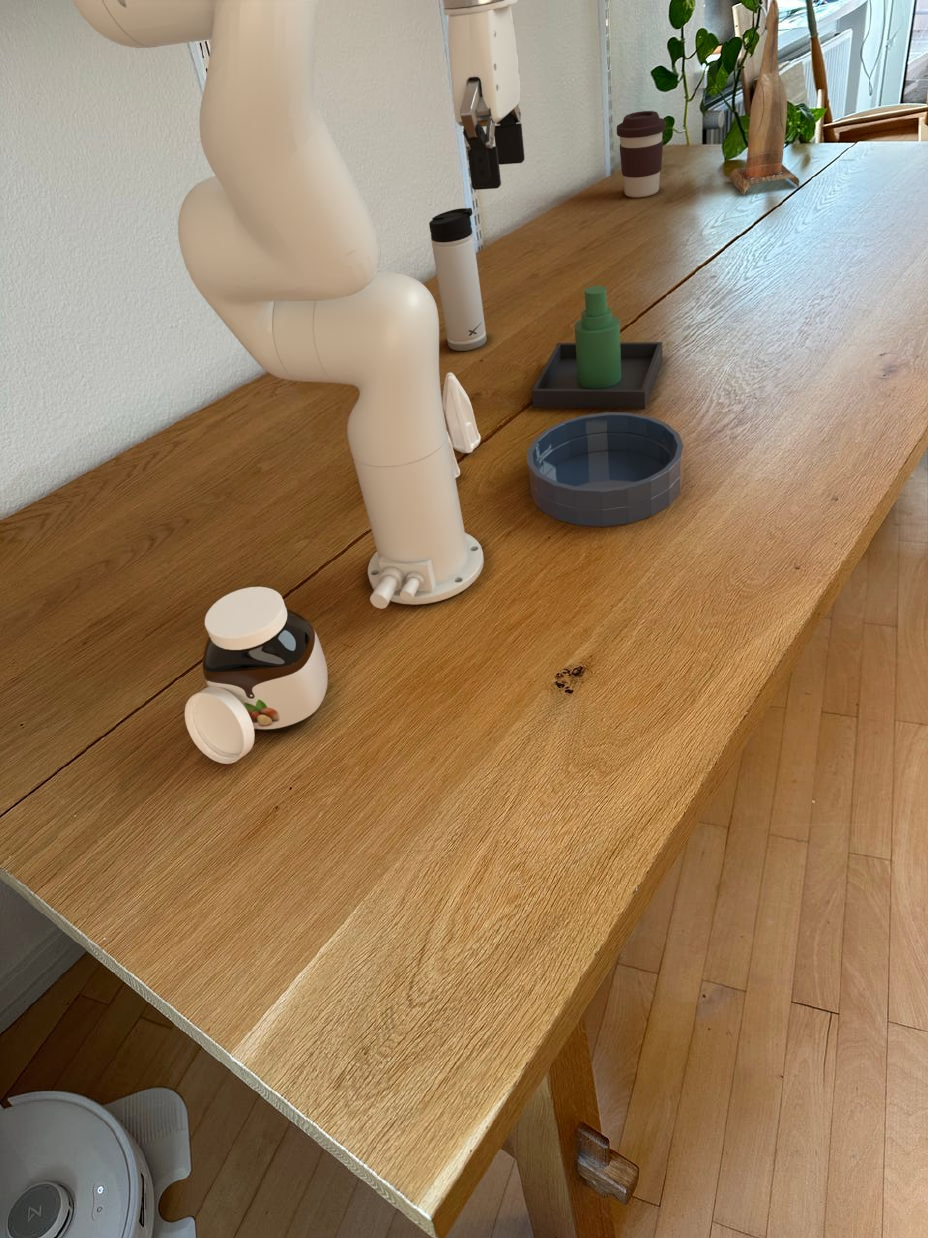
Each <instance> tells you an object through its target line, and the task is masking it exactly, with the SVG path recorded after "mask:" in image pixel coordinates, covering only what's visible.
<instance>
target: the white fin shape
mask: <svg viewBox="0 0 928 1238" xmlns="http://www.w3.org/2000/svg"><path fill="white" fill-rule="evenodd" d="M442 405H443V411H444V417H445V422H446V426H447V428H448V429H447V430H448V431H447V434H448V440H449V445H450V451H451V457H452V463H453V468H454V474H455V479H456V478H458V477H459V476H460V475H461V469H460V467H459V464H458V461H457V458H456V455H455V451H454V450H456V451H457V452H459V453H462V454H471V453H473V451H474V450H475V449H476V448H478V447H479V445H480V444H481V438H482V437H481V434H480V433H479V430H478V427H477V422H476V417H475V414H474V413H475V412H474V410H473V406H472V403H471V400H470V397H469V396H468V394H467V392H466V391H465V389H464V388H463V386H462V385H461V383H460V381H459V379H458V378H457V376H456V375H455V374H454V373H453V372H447V373H446V375H445V378H444V383H443V391H442Z"/></svg>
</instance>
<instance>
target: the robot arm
mask: <svg viewBox="0 0 928 1238" xmlns="http://www.w3.org/2000/svg"><path fill="white" fill-rule="evenodd" d="M72 2H73V4H74V6H75V7H76V9H77V10H78V12H79V13H80V15H81V17H82V18H83V19H84V20H85V21H86V23H88V24H89V26H91V28H93V29H94V31H95V32H97V33H98V34H100V35H101V36H102V37H104V38H105V39H106V40H109V41H111V42H113V43H115V44H117V45H120V46H122V47H123V46H124V47H129V48H134V49H146V48H147V49H151V48H158V47H165V46H172V45H180V44H186V43H193V42H202V41H210V40H211V41H210V48H209V57H208V63H207V64H208V65H207V71H206V77H205V82H204V86H203V92H202V95H201V100H200V101H201V102H200V107H199V121H198V122H199V136H200V143H201V147H202V151H203V153H204V156H205V158H206V160H207V162H208V165H209V166H210V169H211V171H212V172H213V174H214V175H215V176H211V177H210V176H209V177H208V178H205V179H203V180H201V181H199V182H198V183H197V184H196V185H194V186H193V187H192V188H191V189H190V190H189V191H188V192H187V194H186V196H185V197H184V199H183V201H182V204H181V206H180V209H179V214H178V219H177V235H178V243H179V247H180V248H179V249H180V253H181V257H182V259H183V262H184V263H183V264H184V266H185V268H186V270H187V273H188V274H189V277H190V279H191V281H192V283H193V284H194V286H195V288H196V289H197V291H198V292H199V293H200V294H201V296H202V297H203V299H204V301H206V303H207V304H208V305H209V306H210V307H211V309H212V310H213V311H214V313H215V314H216V315H217V316H218V317H219V319H220V320H221V321H222V323H223V324H224V325H225V326H226V327H227V328H228V329H229V331H230V332H231V333H232V334H233V336H234V337H235V338H236V339H237V341H238V342H239V343H240V344H241V345H242V347H243V348H244V349H245V350H246V352H247V353H249V355H250V356H251V358H252V359H253V360H254V361H255V362H256V363H257V364H258V365H259V366H260V367H261V368H262V369H263V370H265V371H266V372H267V373H269V374H270V375H272V376H273V377H276V378H278V379H282V380H286V381H289V382H290V381H291V382H303V383H304V382H305V383H306V382H308V383H328V384H329V383H333V384H334V383H335V384H340V385H349V386H350V385H351V386H354V387H356V388H357V389H358V391H359V396H358V399H357V401H356V402H355V404H354V406H353V408H352V410H351V411H350V414H349V416H348V419H347V423H346V424H347V425H346V433H347V434H346V435H347V442H348V446H349V449H350V453H351V457H352V459H353V463H354V468H355V472H356V475H357V479H358V483H359V486H360V491H361V494H362V499H363V502H364V506H365V511H366V513H367V519H368V521H369V525H370V530H371V533H372V537H373V542H374V545H375V549H376V552H375V553H373V555H372V556H371V558H370V560H369V562H368V566H367V577H368V581H369V583H370V585H371V588H372V590H373V591H372V593H371V595H370V598H369V602H370V603H371V605H372V606H373V607H374V608H376V609H381V610H383V609H386V608H387V607H388V606H389V604H390V603H391V602H393V603H397V604H401V605H413V606H414V605H426V604H432V603H437V602H440V601H443V600H447V599H449V598H452V597H454V596H456V595H458V594H460V593H461V592H463V591H465V590H466V589H468V588H469V587H470V586H471V585H472V584H473V583H475V581H476V580H477V578H479V576H480V574H481V572H482V570H483V568H484V563H485V560H484V551H483V549H482V545H481V543H479V541H478V539H476V538H475V537H474V536H472V535H471V534H468V533H467V532H466V531H465V526H464V521H463V515H462V510H461V509H462V508H461V503H460V498H459V492H458V486H457V481H456V480H457V479H456V478H455V474H454V468H453V463H452V457H451V451H450V445H449V440H448V434H449V433H448V434H447V432H448V429H447V422H446V417H445V413H444V408H443V403H442V401H443V397H442V390H441V381H440V380H441V378H440V318H439V312H438V307H437V303H436V301H435V298H434V296H433V295H432V293H431V292H430V290H429V289H428V288H427V286H425V285H424V283H422V282H420V281H419V280H418V279H416V278H414V277H412V276H409V275H406V274H404V273H398V272H394V271H393V272H392V271H383V270H379V269H380V265H381V264H380V263H381V258H382V256H381V243H380V239H379V234H378V230H377V228H376V226H375V223H374V220H373V218H372V216H371V215H372V214H371V212H370V211H369V209H368V207H367V205H366V201H364V198H363V196H362V194H361V193H360V191H359V189H358V186H357V184H356V181H354V179H353V176H352V175H351V172H350V170H349V169H348V167H347V164H346V163H345V161H344V159H343V157H342V155H341V153H340V151H339V149H338V147H337V145H336V143H335V141H334V139H333V137H332V134H331V133H330V131H329V129H328V127H327V124H326V122H325V120H324V117H323V115H322V111H321V110H320V107H319V102H318V97H317V95H316V94H317V93H316V81H315V61H316V60H315V57H316V40H317V39H316V37H317V35H316V34H317V20H318V9H319V0H72ZM518 2H519V0H442V5H443V12H444V16H448V23H447V24H448V25H447V27H448V28H447V29H448V30H447V31H448V33H447V34H448V54H449V55H448V57H449V68H450V69H449V70H450V80H451V90H452V92H451V93H452V100H453V110H454V118H455V122H456V124H457V125H459V126H460V127H463V128H462V130H463V131H462V135H463V136H464V138H465V142H464V144H465V145H464V146H465V150H466V152H467V161H468V169H469V176H470V182H471V183H470V184H471V188H472V189H473V190H474V191H480V190H493V189H494V190H495V189H499V188H500V187H501V186H502V178H501V171H500V170H501V169H500V166H502V165H514V164H522V163H523V162H524V161H525V147H524V136H523V125H522V123H521V122H522V113H521V109H520V106H519V103H520V101H521V77H520V66H519V55H518V46H517V40H516V31H515V25H514V24H515V23H514V17H513V12H512V5H514V4H517V3H518ZM484 127H486V129H485V130H484Z"/></svg>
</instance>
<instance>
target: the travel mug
mask: <svg viewBox="0 0 928 1238" xmlns="http://www.w3.org/2000/svg"><path fill="white" fill-rule="evenodd" d="M473 214H474V213H473V208H472V207H466V208H465V207H461V208H455V209H451V210H448V211H444V212H442V213H439V214H437V215H435V216H433V217H432V218H431V219H432V220H430V221H429V223H428V225H429V226H428V227H429V233H430V241H431V247H432V253H433V258H434V259H433V260H434V265H435V266H434V267H435V272H436V278H437V285H438V290H439V296H440V303H441V309H442V316H443V322H444V328H445V335H446V339H447V340H446V341H447V346H448V347H449V349H451V350H453V351H457V352H468V351H473V350H476V349H479V348H481V347H483V346H484V345H485V344H486V342H487V331H486V323H485V316H484V315H485V314H484V308H483V299H482V292H481V285H480V276H479V269H478V262H477V254H476V245H475V239H474V236H473V235H474V232H473V228H472V220H471V217H472V215H473Z"/></svg>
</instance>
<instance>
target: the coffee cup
mask: <svg viewBox="0 0 928 1238" xmlns="http://www.w3.org/2000/svg"><path fill="white" fill-rule="evenodd" d="M666 125H667V121H666V119H664V118H662V117H660V116H659V113H658V112H657V111H654V110H644V111H643V110H641V111H634V112H631V113H628V114H625V116H624V117H623V120H622V122H621V123H619V124H617V126H616V136H617V137H619V157H620V166H621V175H622V178H623V191H624V195H625V196H627V197H629V198H637V199H638V198H646V197H650V196H653V195H655V194H657V193H658V192H659V191H660V178H661V171H662V166H663V165H662V164H663V163H662V162H663V148H664V147H663V146H664V139H663V132H664V131H665V130H666V128H667V127H666Z"/></svg>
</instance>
